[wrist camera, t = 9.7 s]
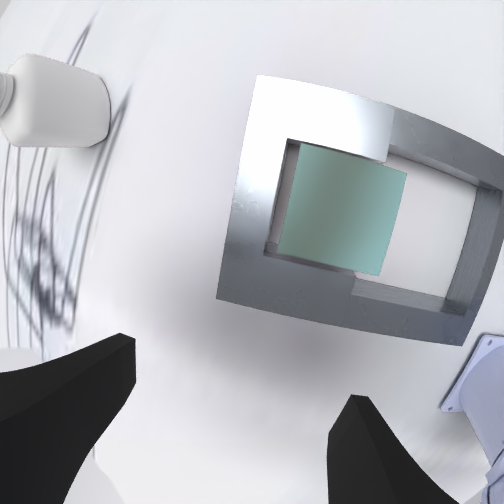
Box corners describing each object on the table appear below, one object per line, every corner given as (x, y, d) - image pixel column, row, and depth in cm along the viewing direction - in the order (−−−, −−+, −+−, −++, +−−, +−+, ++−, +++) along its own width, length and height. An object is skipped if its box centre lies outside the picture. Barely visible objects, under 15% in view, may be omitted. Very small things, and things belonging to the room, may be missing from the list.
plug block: (364, 172, 16) (406, 173, 9) (348, 236, 17) (378, 276, 10) (299, 154, 16) (301, 143, 10) (284, 220, 18) (276, 251, 11)
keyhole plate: (492, 163, 14) (518, 164, 11) (445, 325, 18) (461, 346, 15) (264, 90, 16) (257, 74, 13) (228, 279, 19) (215, 298, 16)
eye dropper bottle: (65, 144, 18) (-67, 149, 7) (83, 75, 17) (-42, 44, 5) (106, 151, 18) (-44, 156, 6) (126, 75, 16) (-10, 25, 5)
